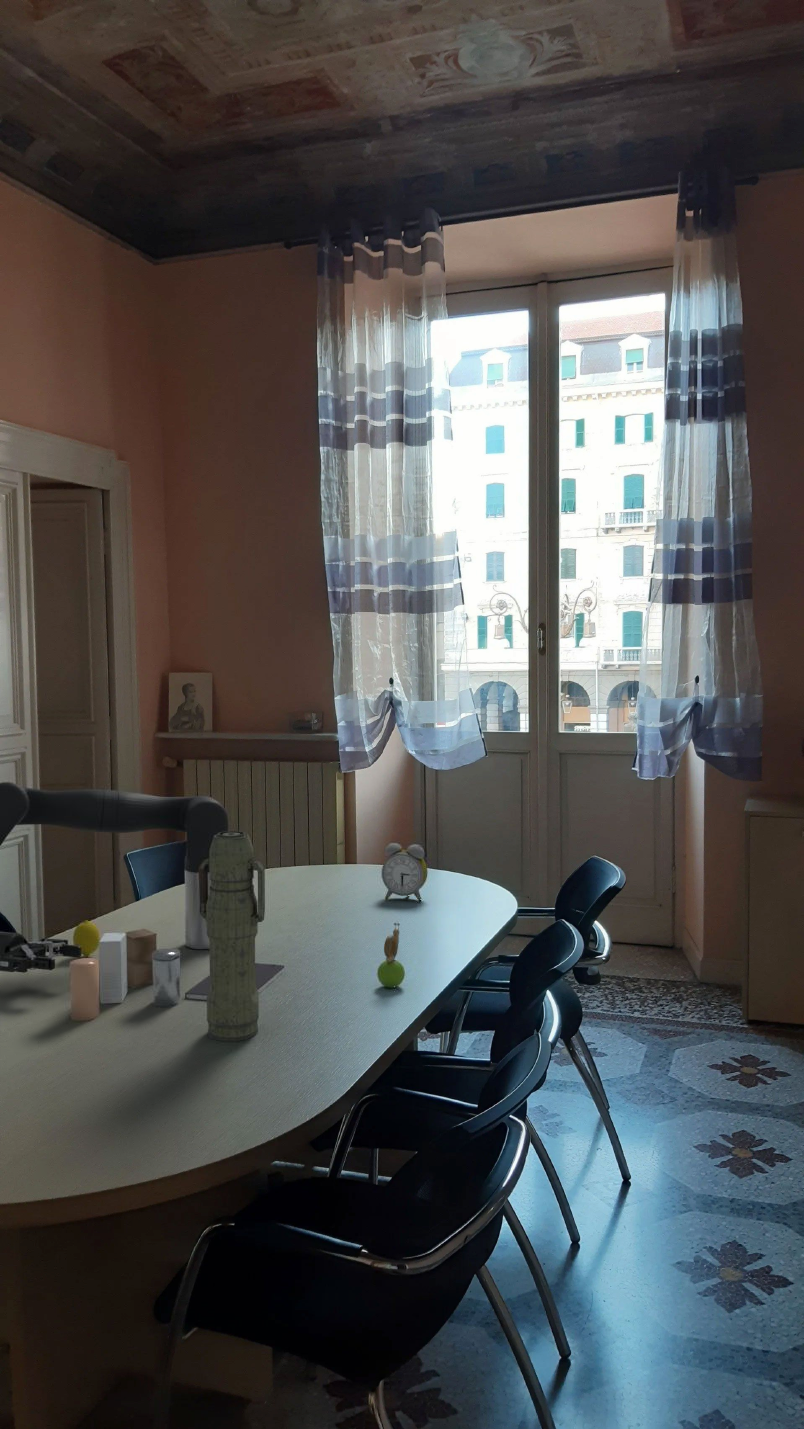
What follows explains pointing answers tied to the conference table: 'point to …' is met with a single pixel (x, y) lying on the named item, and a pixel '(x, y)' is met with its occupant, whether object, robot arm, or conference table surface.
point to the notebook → (262, 979)
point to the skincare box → (113, 968)
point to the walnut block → (140, 957)
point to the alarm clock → (404, 870)
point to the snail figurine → (391, 962)
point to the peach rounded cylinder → (84, 989)
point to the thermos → (232, 934)
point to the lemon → (86, 937)
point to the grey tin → (166, 977)
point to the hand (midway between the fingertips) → (67, 957)
